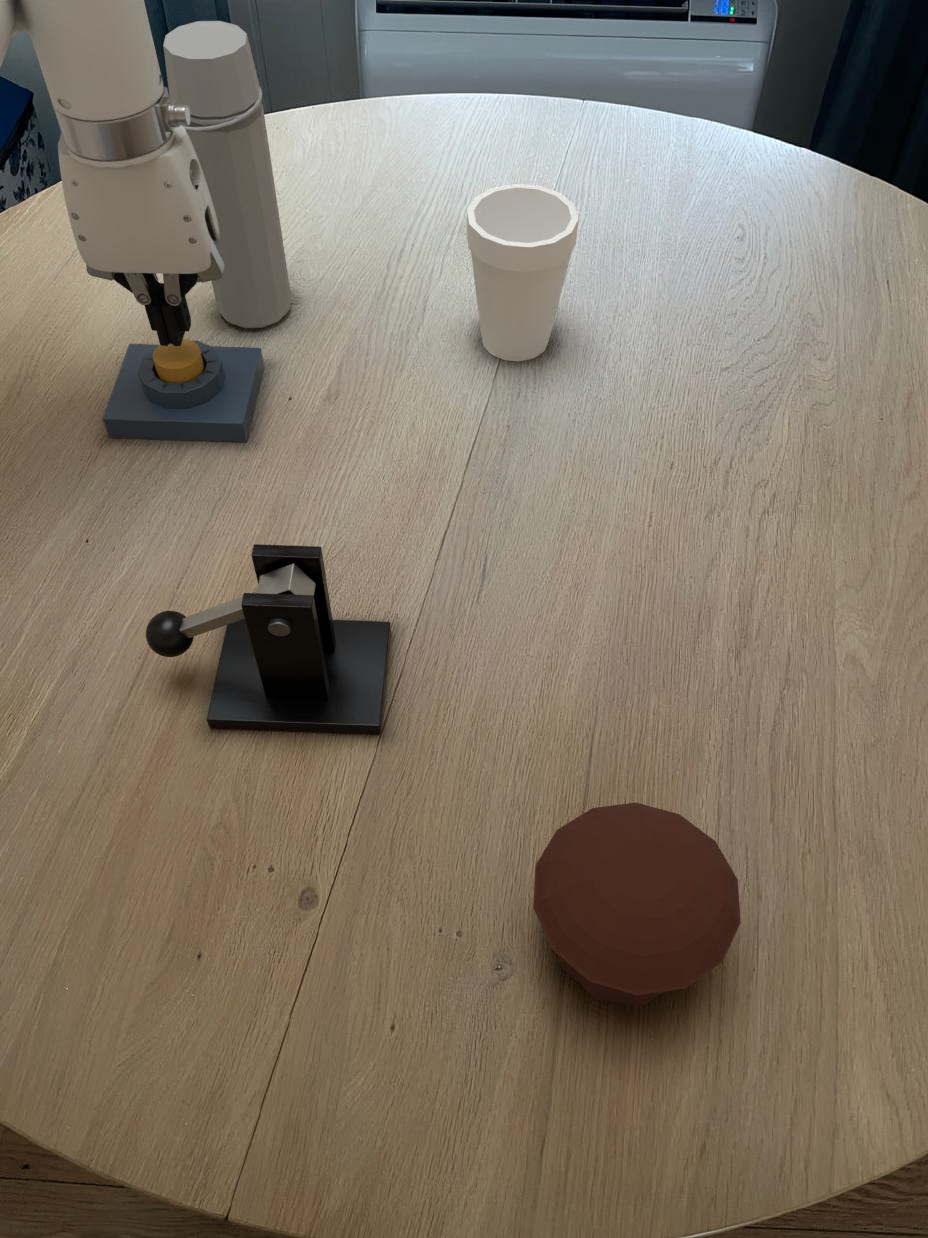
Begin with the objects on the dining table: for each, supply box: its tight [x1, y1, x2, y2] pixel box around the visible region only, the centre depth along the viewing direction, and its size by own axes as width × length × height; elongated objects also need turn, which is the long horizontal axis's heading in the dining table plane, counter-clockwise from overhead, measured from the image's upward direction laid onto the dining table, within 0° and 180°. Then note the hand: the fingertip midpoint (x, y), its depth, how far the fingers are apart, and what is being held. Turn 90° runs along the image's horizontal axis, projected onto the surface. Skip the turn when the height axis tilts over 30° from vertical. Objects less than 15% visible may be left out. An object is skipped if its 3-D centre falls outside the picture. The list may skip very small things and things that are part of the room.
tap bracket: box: [206, 543, 392, 736], centre depth 70 cm, size 12×9×12 cm
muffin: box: [532, 802, 742, 1009], centre depth 60 cm, size 12×11×10 cm
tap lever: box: [145, 563, 316, 658], centre depth 69 cm, size 13×3×3 cm, turn 87°
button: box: [153, 338, 204, 384], centre depth 89 cm, size 4×4×2 cm
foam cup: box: [466, 183, 579, 362], centre depth 93 cm, size 10×9×13 cm
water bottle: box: [162, 20, 292, 329], centre depth 90 cm, size 9×8×25 cm
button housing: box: [102, 340, 265, 443], centre depth 91 cm, size 12×10×4 cm
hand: (174, 335), depth 87 cm, fingers closed
